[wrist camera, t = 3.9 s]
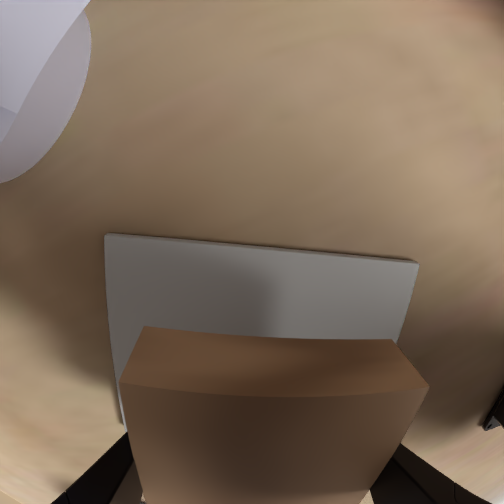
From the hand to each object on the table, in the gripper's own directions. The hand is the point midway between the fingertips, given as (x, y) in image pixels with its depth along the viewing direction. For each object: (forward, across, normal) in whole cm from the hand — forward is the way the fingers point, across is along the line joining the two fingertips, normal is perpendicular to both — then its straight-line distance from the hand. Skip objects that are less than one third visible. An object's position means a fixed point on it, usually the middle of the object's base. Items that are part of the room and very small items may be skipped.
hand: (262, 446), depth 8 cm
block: (+1, 0, 0) cm, 1 cm away
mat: (+4, 0, 0) cm, 5 cm away
